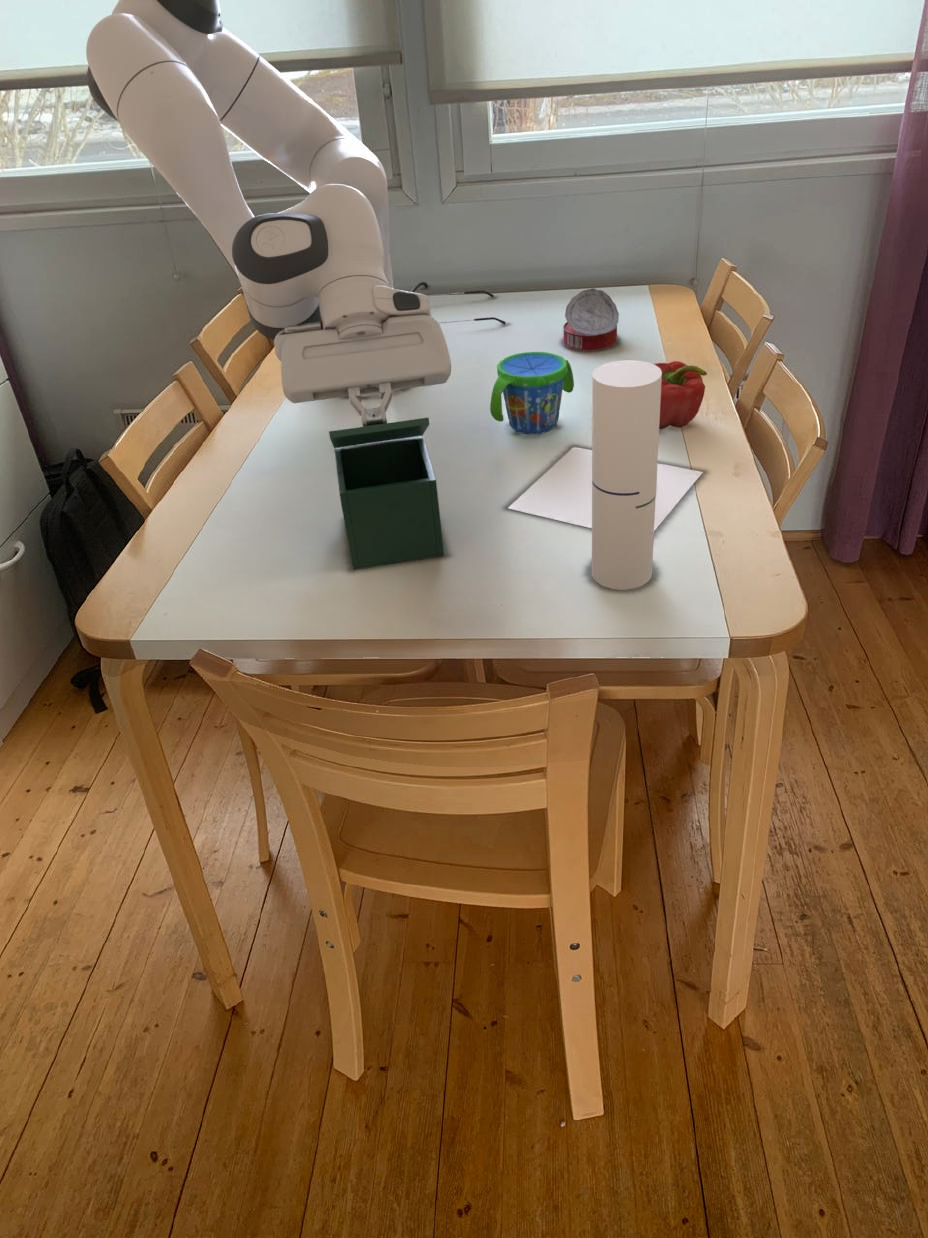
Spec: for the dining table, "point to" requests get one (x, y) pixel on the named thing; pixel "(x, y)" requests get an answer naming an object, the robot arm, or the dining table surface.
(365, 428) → the tin lid
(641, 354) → the dining table surface
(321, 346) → the robot arm
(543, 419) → the snack cup
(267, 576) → the dining table surface
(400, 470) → the dark green hollow box
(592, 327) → the canned food
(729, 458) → the dining table surface
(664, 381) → the vegetable
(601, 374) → the cylindrical container
